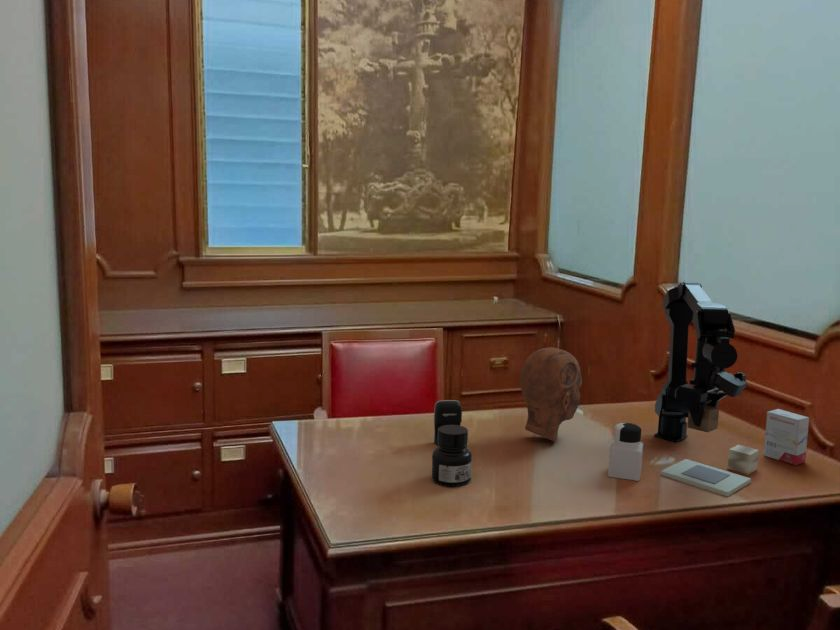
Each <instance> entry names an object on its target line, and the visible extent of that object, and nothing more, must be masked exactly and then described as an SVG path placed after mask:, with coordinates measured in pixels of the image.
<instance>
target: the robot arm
mask: <svg viewBox="0 0 840 630" xmlns="http://www.w3.org/2000/svg"><path fill="white" fill-rule="evenodd" d="M662 308H663V309H664V316H665V317H666V319H667V321H668V323H669V327H670V329H669V331H670V332H669V351H668V371H667V379H666V381H665V382H664V383H663V384H662V386H661V388H660V394H659V395H658V397H657V400H656V401H655V404H654V413H655V414H656V415H657V416H658V425H657V432H656V433H654V437H658V438H661V439H665V440H667V441H670V442H674V443H677V442H679V441H682V440H684V439H686V438H687V437H688V435H687V429H688V428H687V426H688V421H687V419H688V413H689V412H690V414H691V417H692V419H693V422H694V424H695V426H700V424H701V421H702V416H703V411H704V407H705V405H707V406H712V407H717V408H718V405H719V403H720V401H721V400H723V399H724V398H725V397H728V396H729V397H730V398H735V397H737V396H738V397H739V396H741V394H742V392H743V391H744V389H746V388H747V387H748V386H747V385H748V384H747V383H748V382H747V377H746V374H745V373H743V372H741V371H740V372H736V373H735V374H733V373H729V372H727V371H726V369H729V368H731V367H732V366H734V364H735V363H736V362H737V360H738V351H737V350H736V347H735V346H734V345H732V344H730V342H731V341H730V339H734V338H735V333H736V328H735V325H734V322H733V321H734V320H733V318H732V315H731V313H730V311H729V309H728V308H727V307H726V306H724V305H723V304H721V303H718V302H714V301H713V300H712V299H711V298H710V297H709V296H708V294H707V293H706V292H705V290H704V289H703V285H702V283H700V282H698V281H682V282H679V284H678V285H676V286H675V287H673V288H671V289H669V290H667V292H666V293H665V294H664V296H663V299H662ZM691 323H692V324H693V327H694V330H695V333H696V346H695V355H694V356H695V358H694V361H693V362H691V365H690V367H691V368H694V369H693V379H689V382H688V381H687V374H688V373H687V372H688V371H687V370H688V347H689V346H688V345H689V329H690V328H689V327H690V325H691Z"/></svg>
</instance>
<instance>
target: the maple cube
mask: <svg viewBox="0 0 840 630" xmlns="http://www.w3.org/2000/svg"><path fill="white" fill-rule="evenodd" d="M759 452H760V449H757V448H756V449H755V448H752V447H748V446H744V445H741V444H737V445H735V446H732V447H730V448H729V451H728V457H727V458H728V460H727V461H728V462H727V469H728V470H731V471H734V472H738V473H741V474H745V475H749V474H752V473H753V472H755V471H757V470H758V463H759V462H758V461H759Z"/></svg>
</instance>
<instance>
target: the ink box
mask: <svg viewBox="0 0 840 630" xmlns="http://www.w3.org/2000/svg"><path fill="white" fill-rule="evenodd" d="M809 423H810V417H808V416H805V415H801V414H799V413H798V414H797V413H796V412H795V413H793V412H792V411H791V412H790V411H787V410H784V409H780V408H776V409H772V410H768V411H767V412H766V424H765V437H764V447H763V456H764V457H768V458H771V459H774V460H776V461H781V462H784V463H787V464H789V465H794V466H798V465H801V464H803V463H804V462H806V455H807V446H808V433H809V425H810V424H809Z"/></svg>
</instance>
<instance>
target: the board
mask: <svg viewBox="0 0 840 630" xmlns="http://www.w3.org/2000/svg"><path fill="white" fill-rule="evenodd" d="M660 475H661V476H663V477H667V478H669V479H672V480H675V481H679V482H682V483H685V484H687V485H691V486H693V487H697V488H700V489H703V490H706V491H709V492H712V493H715V494H719V495H721V496H725V497H729V496H730V495H732V494H734V493H736V492H737V491H739V490H741V489H742V488H744V487H746V486H747V485H749V484H751V482H752V478H751V477H747V476H743V475H741V474H738V473H734V472H731V471H727V470H724V469H720V468H717V467H714V466H711V465H707V464H703V463H701V462H697V461H694V460H691V459H687V458H684V459H682V460H681V461H679V462H676V463H675V464H673V465H671V466H669V467H666V468H665V469H662V470H661V472H660Z"/></svg>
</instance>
